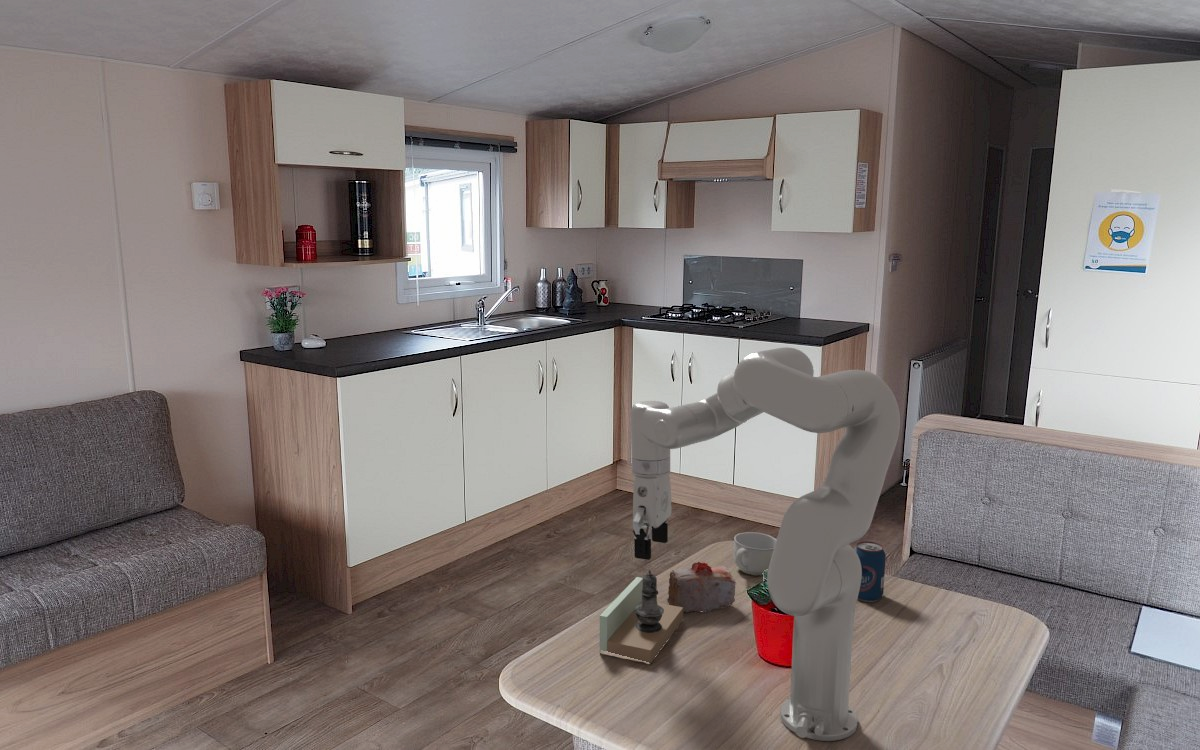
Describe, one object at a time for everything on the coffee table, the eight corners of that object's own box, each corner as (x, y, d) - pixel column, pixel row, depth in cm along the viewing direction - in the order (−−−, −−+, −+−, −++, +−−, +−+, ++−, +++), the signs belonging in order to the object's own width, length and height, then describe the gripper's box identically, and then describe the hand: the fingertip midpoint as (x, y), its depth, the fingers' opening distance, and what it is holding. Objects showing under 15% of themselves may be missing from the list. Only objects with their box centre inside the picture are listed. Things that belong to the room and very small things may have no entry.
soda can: (846, 597, 192) (848, 546, 190) (857, 587, 198) (860, 537, 196) (876, 606, 188) (879, 554, 186) (887, 595, 194) (890, 544, 192)
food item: (722, 595, 194) (723, 554, 192) (737, 610, 186) (738, 567, 184) (665, 602, 190) (666, 560, 188) (677, 618, 182) (678, 574, 181)
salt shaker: (639, 635, 168) (640, 577, 166) (630, 621, 174) (631, 565, 172) (667, 631, 170) (668, 574, 168) (658, 618, 175) (659, 562, 173)
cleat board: (650, 664, 163) (651, 625, 161) (599, 653, 167) (599, 615, 166) (682, 620, 181) (683, 585, 180) (636, 611, 185) (636, 576, 184)
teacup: (752, 558, 215) (753, 528, 213) (787, 572, 206) (789, 540, 205) (714, 572, 206) (715, 541, 204) (749, 587, 198) (751, 554, 196)
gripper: (654, 478, 157) (654, 568, 159) (683, 456, 172) (683, 538, 175) (616, 474, 160) (617, 562, 162) (648, 453, 175) (648, 533, 178)
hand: (651, 549), depth 169 cm, fingers open, 9 cm apart
